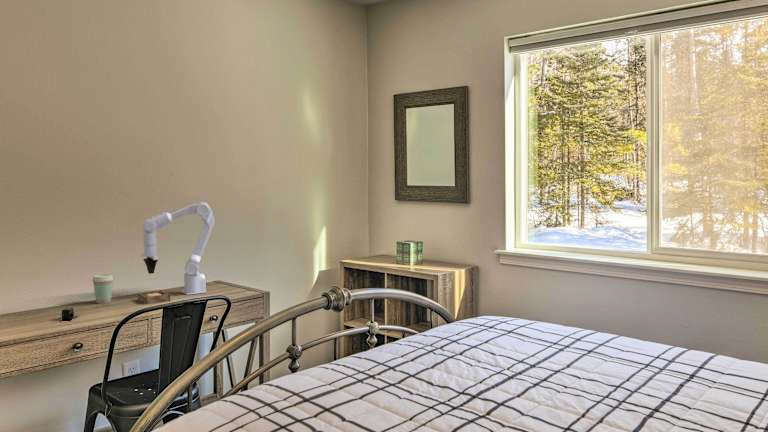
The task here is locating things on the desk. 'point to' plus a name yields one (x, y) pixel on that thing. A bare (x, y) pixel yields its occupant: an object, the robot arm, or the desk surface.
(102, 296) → the coffee cup
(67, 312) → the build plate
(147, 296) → the salmon pink block
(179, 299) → the desk surface
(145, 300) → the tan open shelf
